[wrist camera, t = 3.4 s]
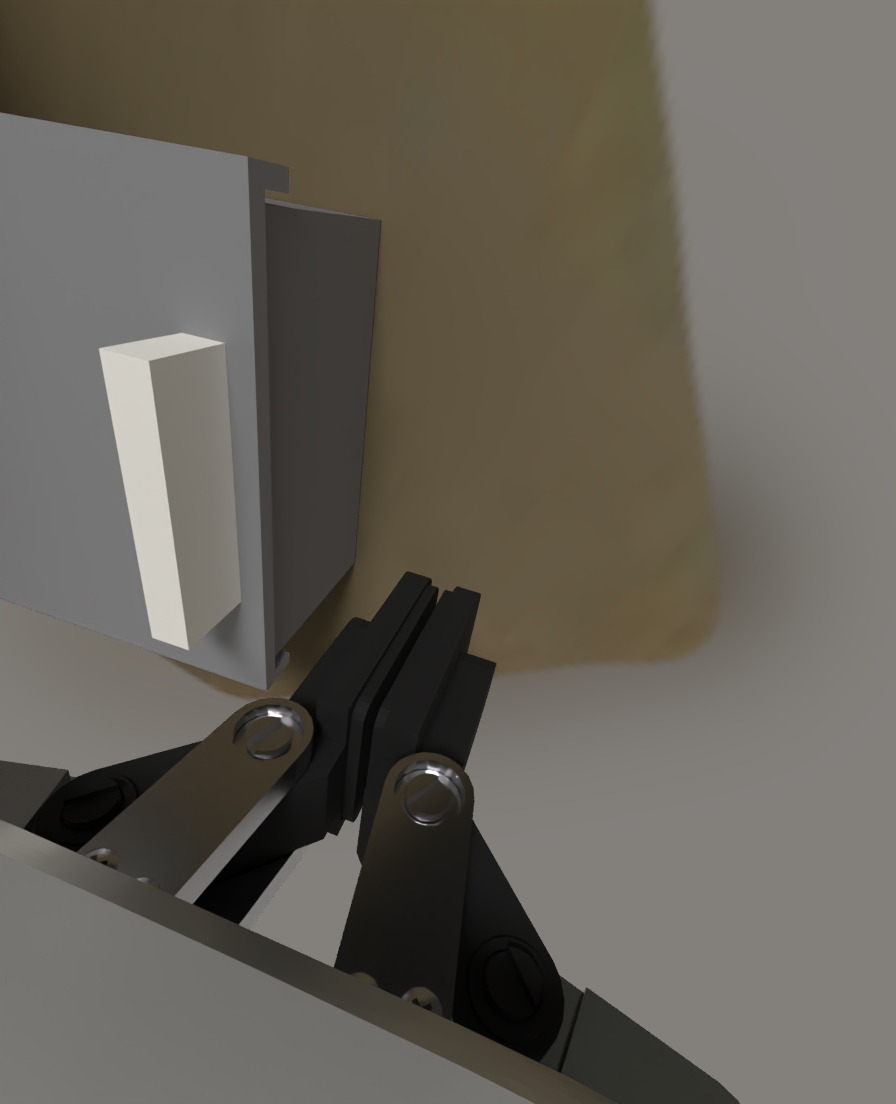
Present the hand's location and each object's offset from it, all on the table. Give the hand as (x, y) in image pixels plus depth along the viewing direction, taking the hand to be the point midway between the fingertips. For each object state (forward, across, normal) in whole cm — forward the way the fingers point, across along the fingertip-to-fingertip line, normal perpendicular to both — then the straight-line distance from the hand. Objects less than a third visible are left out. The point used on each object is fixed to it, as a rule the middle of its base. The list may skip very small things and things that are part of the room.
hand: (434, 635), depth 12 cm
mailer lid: (+4, +15, 0) cm, 16 cm away
